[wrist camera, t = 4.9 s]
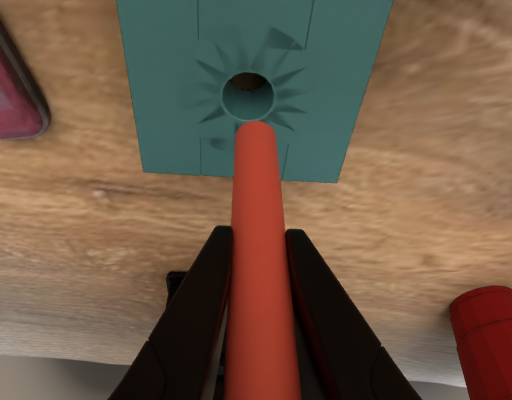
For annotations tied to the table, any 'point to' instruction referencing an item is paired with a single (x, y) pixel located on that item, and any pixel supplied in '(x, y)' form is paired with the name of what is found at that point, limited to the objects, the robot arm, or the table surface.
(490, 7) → the table surface
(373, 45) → the block
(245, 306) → the red rod
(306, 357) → the robot arm
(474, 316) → the plastic cup
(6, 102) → the eraser
